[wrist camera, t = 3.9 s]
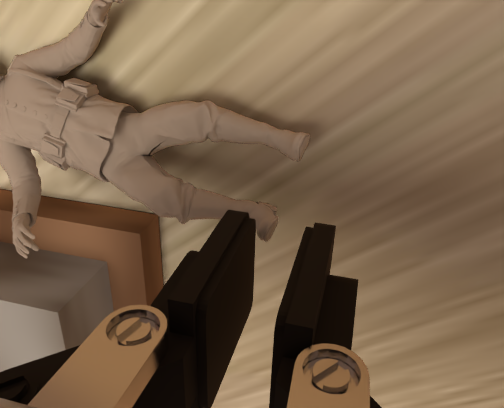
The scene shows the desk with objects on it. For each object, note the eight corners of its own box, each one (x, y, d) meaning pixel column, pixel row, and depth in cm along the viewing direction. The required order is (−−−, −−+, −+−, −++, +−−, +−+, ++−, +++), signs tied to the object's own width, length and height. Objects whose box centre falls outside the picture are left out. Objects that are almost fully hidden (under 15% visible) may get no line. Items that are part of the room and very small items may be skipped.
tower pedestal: (158, 214, 18) (93, 283, 14) (174, 437, 24) (132, 528, 20) (-112, 171, 21) (-229, 218, 17) (-37, 380, 27) (-110, 450, 23)
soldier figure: (234, 344, 13) (-199, 185, 12) (234, 297, 17) (-74, 183, 17) (338, 74, 12) (-101, -102, 12) (309, 104, 17) (-2, -20, 17)
